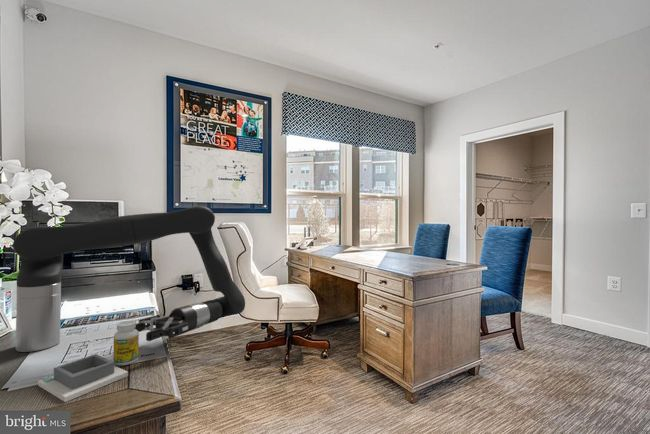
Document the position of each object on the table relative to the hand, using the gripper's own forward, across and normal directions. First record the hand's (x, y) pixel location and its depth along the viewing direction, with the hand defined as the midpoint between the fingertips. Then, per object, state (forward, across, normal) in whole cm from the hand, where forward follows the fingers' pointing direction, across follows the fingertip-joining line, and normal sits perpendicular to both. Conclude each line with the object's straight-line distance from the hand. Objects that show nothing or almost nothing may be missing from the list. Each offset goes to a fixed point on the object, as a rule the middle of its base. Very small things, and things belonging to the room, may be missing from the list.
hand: (137, 333), depth 83 cm
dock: (+13, +2, +6) cm, 14 cm away
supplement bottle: (+3, 0, +6) cm, 7 cm away
